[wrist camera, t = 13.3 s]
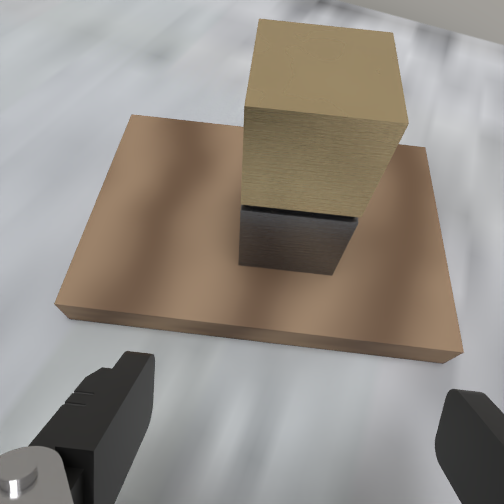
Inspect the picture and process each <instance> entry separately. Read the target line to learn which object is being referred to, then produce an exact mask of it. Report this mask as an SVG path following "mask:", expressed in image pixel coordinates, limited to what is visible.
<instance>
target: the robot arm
mask: <svg viewBox="0 0 504 504" xmlns="http://www.w3.org/2000/svg"><path fill="white" fill-rule="evenodd" d="M154 371H155V357H154V354H148V353H139V352H130V351H126V352H124V354H123V355H122V356H121V358H120V359H119V360H118V362H117V363H116V364H115V366H114V367H113V368H112V369H111V368H103V367H102V368H101V369H99V370H97V371H96V372H94V373H92V374H90V375H89V376H87V377H85V379H84V380H83V381H82V382H81V383H80V385H79V386H78V387H77V388H76V389H75V391H74V393H72V394H71V395H70V397H69V398H68V399H67V400H66V401H65V404H64V405H62V406H61V407H60V409H59V410H58V411H57V412H56V413H55V415H54V416H53V417H52V418H51V419H50V421H49V422H48V423H47V424H46V425H45V427H44V428H43V429H42V430H41V431H40V433H39V434H38V435H37V436H36V437H35V439H34V440H33V441H32V442H31V443H30V445H29V446H28V447H22V448H18V449H15V450H12V451H9V452H7V453H5V454H2V455H0V504H114V503H115V501H116V499H117V497H118V494H119V492H120V490H121V487H122V485H123V483H124V481H125V478H126V476H127V474H128V472H129V469H130V467H131V465H132V463H133V460H134V458H135V456H136V454H137V451H138V449H139V447H140V445H141V442H142V440H143V438H144V436H145V433H146V431H147V429H148V426H149V423H150V419H151V414H152V408H153V392H154ZM435 451H436V456H437V460H438V462H439V464H440V466H441V468H442V470H443V472H444V473H445V475H446V477H447V479H448V480H449V482H450V484H451V486H452V487H453V489H454V491H455V493H456V494H457V496H458V498H459V500H460V501H461V503H462V504H504V414H503V413H502V412H501V410H500V409H499V408H498V407H497V406H496V405H495V404H494V403H493V402H492V401H491V400H490V399H489V398H488V397H487V396H486V395H485V394H484V393H482V392H475V391H466V390H458V389H452V390H450V391H449V392H448V394H447V396H446V399H445V403H444V407H443V411H442V414H441V418H440V422H439V426H438V430H437V434H436V438H435Z"/></svg>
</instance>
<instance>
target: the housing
mask: <svg viewBox="0 0 504 504" xmlns="http://www.w3.org/2000/svg"><path fill="white" fill-rule="evenodd" d="M408 124H409V123H408V117H407V111H406V105H405V99H404V94H403V88H402V82H401V76H400V71H399V65H398V59H397V53H396V47H395V42H394V36H393V33H391V32H381V31H372V30H362V29H353V28H343V27H334V26H324V25H315V24H305V23H296V22H286V21H277V20H267V19H259V22H258V28H257V34H256V40H255V46H254V52H253V58H252V64H251V70H250V76H249V82H248V88H247V94H246V100H245V106H244V131H243V157H242V183H241V210H240V235H239V261H238V265H240V266H249V267H258V268H267V269H276V270H285V271H294V272H303V273H312V274H321V275H330V276H332V275H333V273H334V271H335V269H336V267H337V265H338V263H339V261H340V259H341V257H342V255H343V253H344V251H345V249H346V247H347V245H348V243H349V241H350V239H351V237H352V235H353V233H354V231H355V229H356V227H357V225H358V217H362V215H363V213H364V211H365V209H366V207H367V205H368V203H369V201H370V199H371V197H372V195H373V193H374V191H375V189H376V187H377V186H378V184H379V182H380V180H381V178H382V176H383V174H384V172H385V170H386V168H387V166H388V164H389V162H390V160H391V158H392V156H393V154H394V152H395V150H396V148H397V146H398V144H399V142H400V140H401V138H402V136H403V134H404V132H405V130H406V128H407V126H408Z"/></svg>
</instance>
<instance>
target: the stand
mask: <svg viewBox="0 0 504 504" xmlns="http://www.w3.org/2000/svg"><path fill="white" fill-rule="evenodd" d="M243 131H244V127H239V126H230V125H221V124H212V123H204V122H195V121H186V120H177V119H168V118H159V117H150V116H141V115H131V117H130V120H129V122H128V124H127V127H126V129H125V132H124V134H123V137H122V139H121V142H120V144H119V146H118V149H117V151H116V154H115V156H114V159H113V161H112V164H111V166H110V168H109V171H108V173H107V176H106V178H105V181H104V183H103V186H102V188H101V191H100V193H99V195H98V198H97V200H96V203H95V205H94V208H93V210H92V213H91V215H90V217H89V220H88V222H87V225H86V227H85V230H84V232H83V235H82V237H81V239H80V242H79V244H78V247H77V249H76V252H75V254H74V257H73V259H72V261H71V264H70V266H69V269H68V271H67V274H66V276H65V279H64V281H63V284H62V286H61V288H60V291H59V293H58V296H57V298H56V301H55V303H54V304H55V305H56V306H57V307H58V308H59V309H60V310H61V311H62V312H63V313H64V314H65V315H66V316H67V317H68V318H69V319H75V320H83V321H92V322H100V323H109V324H117V325H125V326H134V327H142V328H151V329H159V330H167V331H176V332H184V333H193V334H201V335H209V336H218V337H226V338H235V339H243V340H251V341H260V342H268V343H277V344H285V345H294V346H302V347H310V348H319V349H327V350H336V351H344V352H352V353H361V354H369V355H378V356H386V357H394V358H403V359H411V360H420V361H428V362H436V363H445V362H447V361H449V360H451V359H453V358H455V357H456V356H458V355H460V354H462V353H464V351H463V346H462V340H461V335H460V330H459V324H458V319H457V314H456V309H455V303H454V298H453V293H452V287H451V282H450V277H449V271H448V266H447V261H446V255H445V250H444V245H443V239H442V234H441V229H440V224H439V218H438V213H437V208H436V202H435V197H434V192H433V186H432V181H431V176H430V170H429V165H428V160H427V154H426V149H425V147H417V146H408V145H400V144H398V146H397V148H396V150H395V152H394V154H393V156H392V158H391V160H390V162H389V164H388V166H387V168H386V170H385V172H384V174H383V176H382V178H381V180H380V182H379V184H378V186H377V187H376V189H375V191H374V193H373V195H372V197H371V199H370V201H369V203H368V205H367V207H366V209H365V211H364V213H363V215H362V217H358V225H357V227H356V229H355V231H354V233H353V235H352V237H351V239H350V241H349V243H348V245H347V247H346V249H345V251H344V253H343V255H342V257H341V259H340V261H339V263H338V265H337V267H336V269H335V271H334V273H333V275H332V276H330V275H321V274H312V273H303V272H294V271H285V270H276V269H267V268H258V267H249V266H240V265H238V261H239V235H240V210H241V183H242V157H243Z"/></svg>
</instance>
